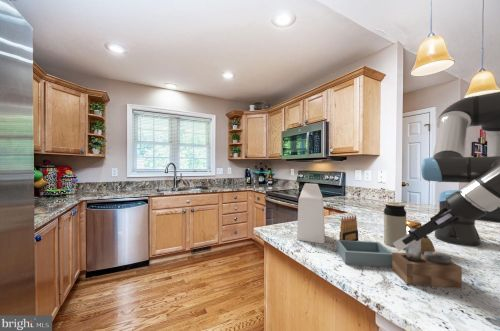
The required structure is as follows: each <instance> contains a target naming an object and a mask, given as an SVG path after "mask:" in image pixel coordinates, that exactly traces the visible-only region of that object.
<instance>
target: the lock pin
mask: <svg viewBox="0 0 500 331" xmlns="http://www.w3.org/2000/svg"><path fill="white" fill-rule="evenodd" d="M421 226H422V223H421V222H420V221H416V220H415V221H414V220H406V235H407V234H408V233H409V232H408V231H409V230H410V231H411V232H413V231H414V230H416V229H418V228H419V227H421ZM405 253H406V259H407V260H408V261H410V262H421V239H420V240H419V241H416V242H415V243H413V244H411V245H410V246H408V247H406V248H405Z"/></svg>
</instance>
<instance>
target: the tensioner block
mask: <svg viewBox="0 0 500 331" xmlns="http://www.w3.org/2000/svg"><path fill="white" fill-rule="evenodd" d="M391 252H392V266H393V267H392V272H393V273H394V274H395V275H397V277H399V278H400V279H401V280H402V281H403V282H404V284H406V285H414V286H426V287H436V288H437V287H440V288H450V289H451V288H453V289H463V281H462V280H463V279H462V277H463V274H462V273H463V270H462V266H461V265H459V264H457V263H455V262H453V261H452V257H451V256H449V255H447V254H445V253H442V252H438V251H435V252H433V251H426V252H424V254H421V262H410V261H408V260H407V259H406V252H393V251H391Z"/></svg>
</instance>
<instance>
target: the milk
mask: <svg viewBox="0 0 500 331" xmlns="http://www.w3.org/2000/svg"><path fill="white" fill-rule="evenodd" d="M297 206H298V207H297V226H296V227H297V228H296V229H297V230H296V240H297V241H304V242H311V243H312V242H313V243H319V244H324V243H325V237H326V230H325V226H326V225H325V213H324V212H325V209H324V197H323V194H322V191H321V189H320V186H319V184H318V183H304V185H303V187H302V189H301V192H300V195H299V197H298V205H297Z"/></svg>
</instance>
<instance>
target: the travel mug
mask: <svg viewBox="0 0 500 331" xmlns="http://www.w3.org/2000/svg"><path fill="white" fill-rule="evenodd" d="M384 205H385V208H384V209H383V243H384V244H385V245H387V246H390V247H393V248H396V247H395V246H394V245H393V244H392V243H394V242H395V241H397V240H399V239H400V238H402V237H404V236H405V235H406V221H407V211H406V210H405V206H406V204H405V203H401V202H394V201H392V202H391V201H389V202H387V201H386V202H384Z"/></svg>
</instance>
